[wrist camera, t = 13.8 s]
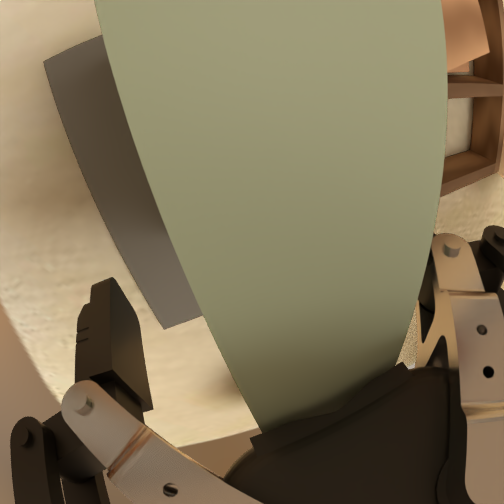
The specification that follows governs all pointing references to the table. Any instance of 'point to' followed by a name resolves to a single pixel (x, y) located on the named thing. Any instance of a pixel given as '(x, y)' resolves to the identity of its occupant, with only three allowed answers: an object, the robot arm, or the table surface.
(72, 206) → the table surface
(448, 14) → the offcut upper
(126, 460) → the robot arm
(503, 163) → the foam cup
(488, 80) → the rack
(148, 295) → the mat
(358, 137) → the green block
